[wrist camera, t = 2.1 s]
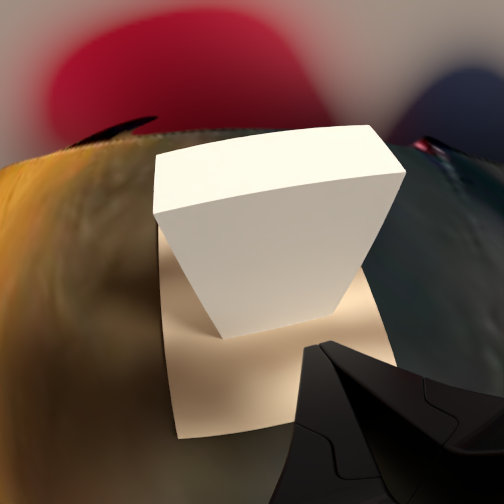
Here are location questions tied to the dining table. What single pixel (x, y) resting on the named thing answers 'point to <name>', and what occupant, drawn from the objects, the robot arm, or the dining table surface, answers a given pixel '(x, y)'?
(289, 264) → the card box
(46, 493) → the dining table surface
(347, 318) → the mat
